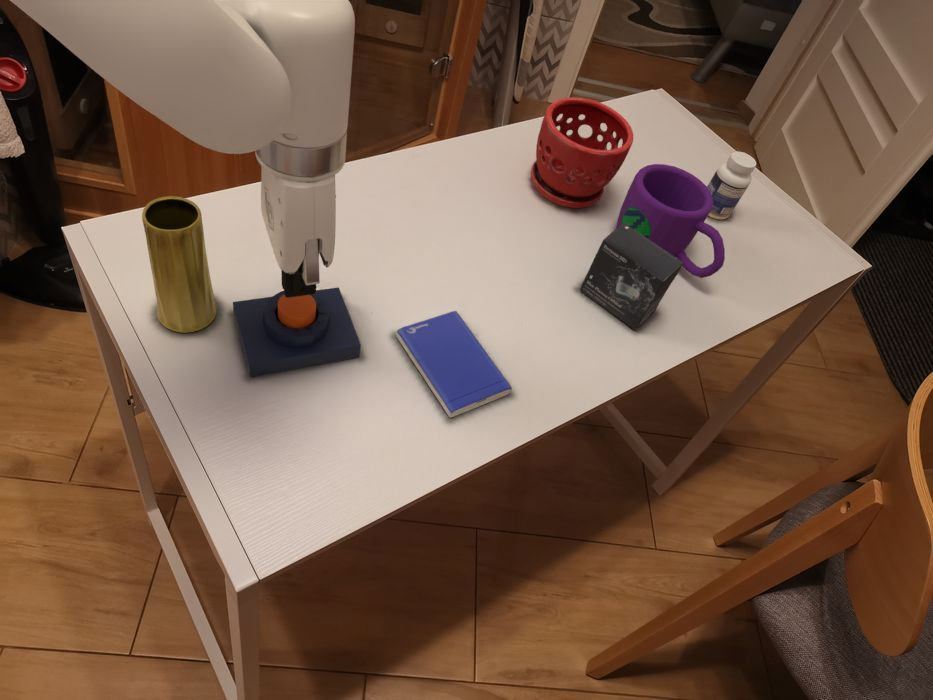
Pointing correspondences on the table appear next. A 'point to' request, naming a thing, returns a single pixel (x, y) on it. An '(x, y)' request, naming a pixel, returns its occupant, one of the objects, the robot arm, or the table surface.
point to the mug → (672, 213)
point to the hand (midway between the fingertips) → (298, 290)
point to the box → (630, 275)
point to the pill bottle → (730, 184)
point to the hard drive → (453, 363)
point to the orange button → (297, 311)
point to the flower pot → (578, 152)
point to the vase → (179, 264)
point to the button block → (294, 334)
